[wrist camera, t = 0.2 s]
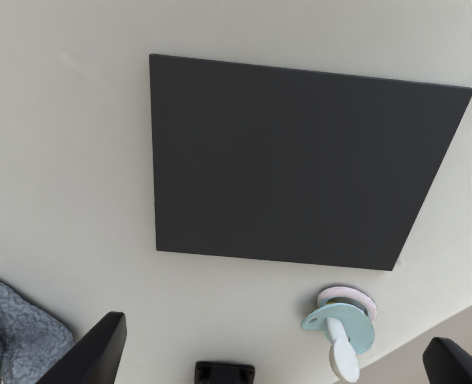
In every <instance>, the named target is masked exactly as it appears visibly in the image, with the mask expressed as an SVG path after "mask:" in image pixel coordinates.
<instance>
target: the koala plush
mask: <svg viewBox="0 0 472 384" xmlns="http://www.w3.org/2000/svg"><path fill="white" fill-rule="evenodd" d="M74 345H75V342H73V336H72V333H71V332H69V331H68V329H66V327H65V326H64V325H63V324H62V323H59V321H58V320H56V319H54V317H52V316H50V315H49V314H48V313H46V312H45V311H42V310H40V309H39V308H38V307H36V306H33V305H30V303H28V302H27V301H24V300H22V298H21V297H20V296H19V295H18V294H16V293H15V292H14V291H13V289H11V288H9V286H6V285H5V284H3V283H2V282H1V283H0V384H1V381H2V378H1V377H2V376H3V382H4V384H34V383H35V382H36V381H37V380H39V379H40V378H41V377H42V376H43V375H44V374H45V373H46V372H47V371H48V370H49V369H50V368H51V367H52V366H53V365H54V364H55V363H56V362H57V361H58V360H59V359H60V358H61V357H63V356H64V355H65V354H66V353H67V352H68V351H69V350H70V349H71V348H72V347H73V346H74Z"/></svg>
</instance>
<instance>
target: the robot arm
mask: <svg viewBox="0 0 472 384" xmlns="http://www.w3.org/2000/svg"><path fill="white" fill-rule="evenodd" d="M126 336H127V327H126V318H125V314H124V313H123V312H113V311H112V312H109V313H107V314H106V315H105V316H104V317H103V318H102V319H101V320H100V321H99V322H98V323H97V324H96V325H95V326H94V327H93V328H92V329H91V330H90V331H89V332H88V333H86V334H85V335H84V336H83V337H82V338H81V339H80V340H79V341H78V342H77V343H76V344H75V345H74V346H73V347H72V348H71V349H70V350H69V351H68V352H67V353H66V354H65V355H64V356H63V357H61V358H60V359H59V360H58V361H57V362H56V363H55V364H54V365H53V366H52V367H51V368H50V369H49V370H48V371H47V372H46V373H45V374H44V375H43V376H42V377H41V378H40V379H39V380H37V381H36V382H35V383H34V384H114V382H115V378H116V374H117V370H118V367H119V363H120V359H121V356H122V352H123V348H124V345H125V341H126ZM423 363H424V366H425V370H426V372H427V376H428V379H429V382H430V384H472V356H471V355H469V354H468V353H467V352H466V351H465V350H463V349H462V348H461V347H460V346H459V345H457V344H456V343H455V342H454V341H452V340H451V339H449V338H442V337H441V338H440V337H435V338H433V339H432V340H431V342H430V343H429V345H428V347H427V348H426V350H425V351H424V353H423ZM254 375H255V368H254V367H253V366H244V365H231V364H217V363H204V362H198V363H196V366H195V381H194V384H253V380H254Z"/></svg>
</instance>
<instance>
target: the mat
mask: <svg viewBox="0 0 472 384" xmlns="http://www.w3.org/2000/svg"><path fill="white" fill-rule="evenodd" d="M149 62H150V89H151V116H152V143H153V170H154V197H155V225H156V250H157V251H166V252H178V253H189V254H201V255H212V256H224V257H236V258H247V259H259V260H270V261H282V262H293V263H305V264H317V265H328V266H340V267H351V268H363V269H374V270H386V271H392V270H393V268H394V265H395V263H396V261H397V259H398V257H399V255H400V252H401V250H402V248H403V246H404V244H405V241H406V239H407V237H408V235H409V233H410V230H411V228H412V226H413V224H414V222H415V220H416V217H417V215H418V213H419V211H420V209H421V206H422V204H423V202H424V200H425V198H426V195H427V193H428V191H429V189H430V187H431V185H432V182H433V180H434V178H435V176H436V174H437V171H438V169H439V167H440V165H441V163H442V160H443V158H444V156H445V154H446V152H447V150H448V147H449V145H450V143H451V141H452V139H453V136H454V134H455V132H456V130H457V128H458V125H459V123H460V121H461V119H462V117H463V115H464V112H465V110H466V108H467V106H468V104H469V101H470V99H471V97H472V88H468V87H459V86H449V85H440V84H430V83H421V82H412V81H402V80H393V79H383V78H374V77H365V76H355V75H346V74H336V73H327V72H318V71H308V70H299V69H289V68H280V67H271V66H261V65H252V64H242V63H233V62H224V61H214V60H205V59H195V58H186V57H177V56H167V55H158V54H150V55H149Z"/></svg>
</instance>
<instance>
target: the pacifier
mask: <svg viewBox="0 0 472 384" xmlns="http://www.w3.org/2000/svg"><path fill="white" fill-rule="evenodd" d="M334 297H348V298H351V299H354V300H356V301H358V302H360V303H361V304H362V305H364V307H365V308H366V313H365V314H364V312H363V311H361V310H360V309H359V308H357V307H355V306H353V305H350V304H346V303H338V302H333V301H329V302H327V301H328V300H329V299H331V298H334ZM317 306H318V308H317V310H316V311H314V312H312V313H311V314H309V315H308V316H307V317H306V318H304V319H303V320H302V322H301V328H302V329H303V330H308V331H318V330H323V331H324V332H325V335H326V337H327V339H328V340H329V341H330V342H331V343H332V345H331V348H330V352H329V361H330V365H331V368H332V370H333V372H334V373H335V375H336V376H337V377H338V378H339V379H340V380H342V381H343V382H346V383H355V382H356V381H357V380H358V378H359V373H360V368H359V362H358V358H357V355H356V354H362V353H364V352H366V351H367V350H368V349H369V348H370V347H371V345H372V344H373V340H374V329H373V326H372V324H371V323H372V322H373V321H374V320H375V318H376V315H377V309H376V306H375V304H374V303H373V301H372V300H371V299H370V298H369V297H367V296H366V295H365V294H363V293H362V292H360V291H358V290H355V289H352V288H348V287H332V288H328V289H326V290H324V291H322V292H321V293H320V295H319V296H318V299H317ZM314 318H315V319H314ZM312 319H314V320H312ZM310 320H312V321H310ZM347 336H348V337H349V340H348V338H347Z"/></svg>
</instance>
